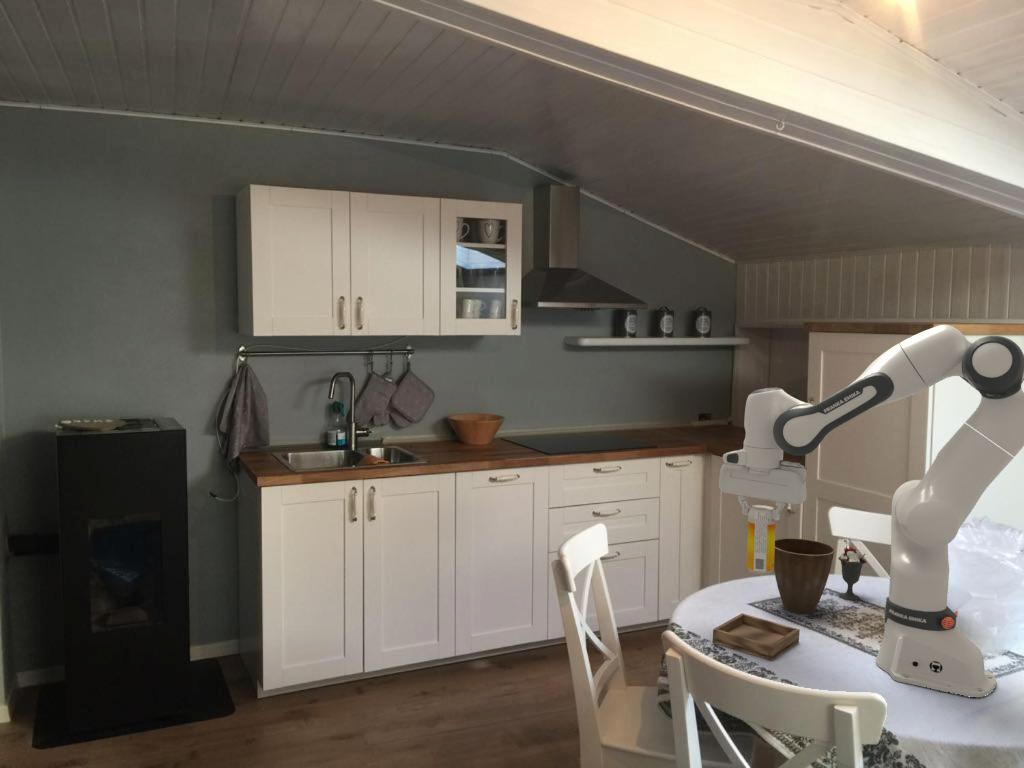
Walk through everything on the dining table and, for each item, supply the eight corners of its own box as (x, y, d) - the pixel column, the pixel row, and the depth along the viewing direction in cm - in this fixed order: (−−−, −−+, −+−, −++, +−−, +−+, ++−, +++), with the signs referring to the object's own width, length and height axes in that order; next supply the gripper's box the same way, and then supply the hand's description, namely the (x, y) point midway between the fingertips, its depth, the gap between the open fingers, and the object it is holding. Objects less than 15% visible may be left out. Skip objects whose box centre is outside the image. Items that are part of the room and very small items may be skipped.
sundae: (830, 593, 228) (833, 538, 226) (851, 591, 230) (855, 536, 228) (846, 602, 221) (850, 545, 220) (868, 600, 223) (872, 543, 222)
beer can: (772, 568, 203) (774, 505, 201) (775, 576, 197) (777, 511, 195) (745, 566, 204) (747, 504, 203) (747, 574, 198) (749, 509, 197)
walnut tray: (798, 642, 194) (799, 629, 194) (771, 660, 184) (772, 647, 184) (741, 625, 203) (742, 613, 203) (712, 642, 193) (713, 629, 193)
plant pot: (754, 604, 218) (758, 542, 216) (793, 594, 226) (797, 534, 225) (804, 623, 206) (808, 558, 204) (843, 612, 214) (847, 549, 212)
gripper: (812, 462, 193) (810, 522, 195) (729, 450, 207) (727, 507, 208) (800, 465, 189) (798, 527, 190) (716, 454, 202) (714, 512, 204)
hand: (760, 517), depth 199 cm, fingers closed on beer can, 6 cm apart
